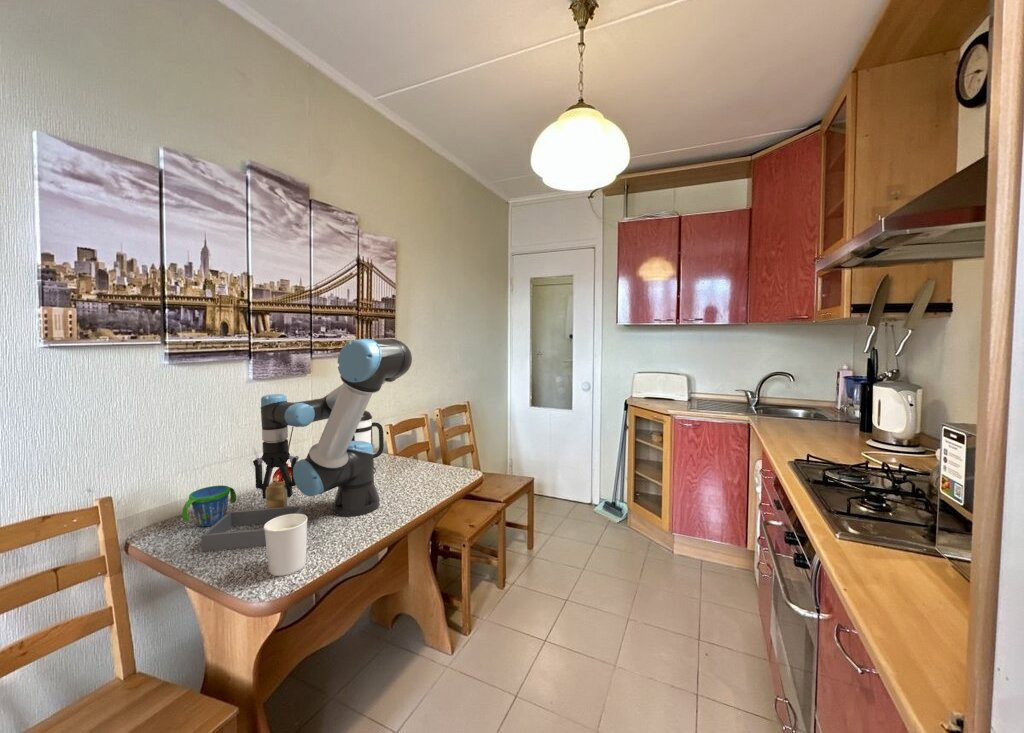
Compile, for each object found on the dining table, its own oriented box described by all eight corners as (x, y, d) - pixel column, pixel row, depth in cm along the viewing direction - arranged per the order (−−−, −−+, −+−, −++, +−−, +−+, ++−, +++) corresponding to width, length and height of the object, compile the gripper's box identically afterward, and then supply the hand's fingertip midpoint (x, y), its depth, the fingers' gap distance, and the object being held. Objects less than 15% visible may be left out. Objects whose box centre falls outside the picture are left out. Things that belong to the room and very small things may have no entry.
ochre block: (288, 503, 140) (287, 481, 140) (283, 509, 135) (282, 486, 135) (273, 505, 139) (272, 482, 139) (267, 511, 134) (266, 487, 134)
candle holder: (288, 554, 109) (286, 511, 108) (317, 559, 106) (316, 516, 106) (256, 574, 100) (253, 527, 99) (287, 581, 97) (285, 533, 96)
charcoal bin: (305, 518, 131) (304, 505, 130) (288, 543, 115) (287, 528, 115) (229, 525, 126) (229, 511, 126) (201, 551, 111) (200, 536, 110)
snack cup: (193, 536, 120) (191, 503, 119) (173, 529, 124) (171, 497, 123) (246, 515, 134) (245, 485, 133) (227, 509, 138) (225, 480, 137)
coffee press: (372, 478, 168) (370, 408, 166) (334, 479, 168) (331, 408, 166) (384, 465, 186) (383, 401, 183) (350, 465, 185) (347, 401, 183)
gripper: (307, 436, 141) (309, 500, 143) (250, 438, 137) (253, 504, 139) (300, 441, 134) (303, 509, 135) (240, 444, 130) (243, 513, 132)
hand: (278, 506), depth 137 cm, fingers closed on ochre block, 5 cm apart
